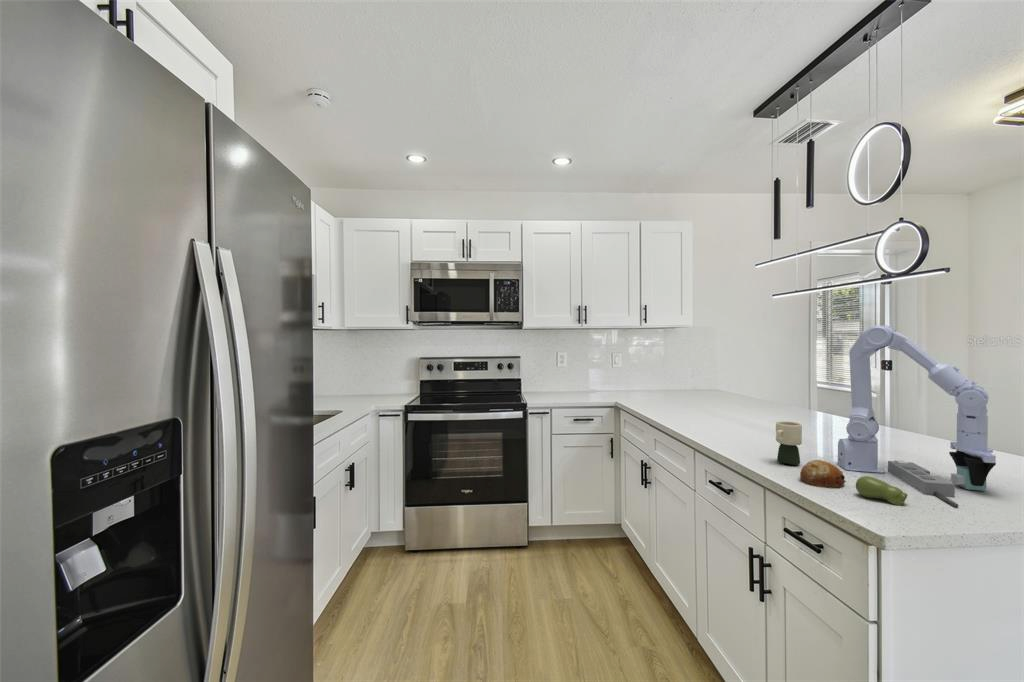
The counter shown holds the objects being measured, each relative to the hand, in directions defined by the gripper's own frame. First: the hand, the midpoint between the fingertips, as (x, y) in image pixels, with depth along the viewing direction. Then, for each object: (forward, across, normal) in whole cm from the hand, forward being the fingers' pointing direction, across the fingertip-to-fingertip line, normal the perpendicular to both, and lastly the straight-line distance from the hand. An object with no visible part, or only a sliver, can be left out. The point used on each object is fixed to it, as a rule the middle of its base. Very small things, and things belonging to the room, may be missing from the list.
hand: (971, 482), depth 118 cm
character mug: (+2, +11, +40) cm, 41 cm away
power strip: (+2, -3, +11) cm, 11 cm away
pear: (+2, -16, +26) cm, 31 cm away
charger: (+2, 0, 0) cm, 2 cm away
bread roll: (+2, -6, +36) cm, 36 cm away
